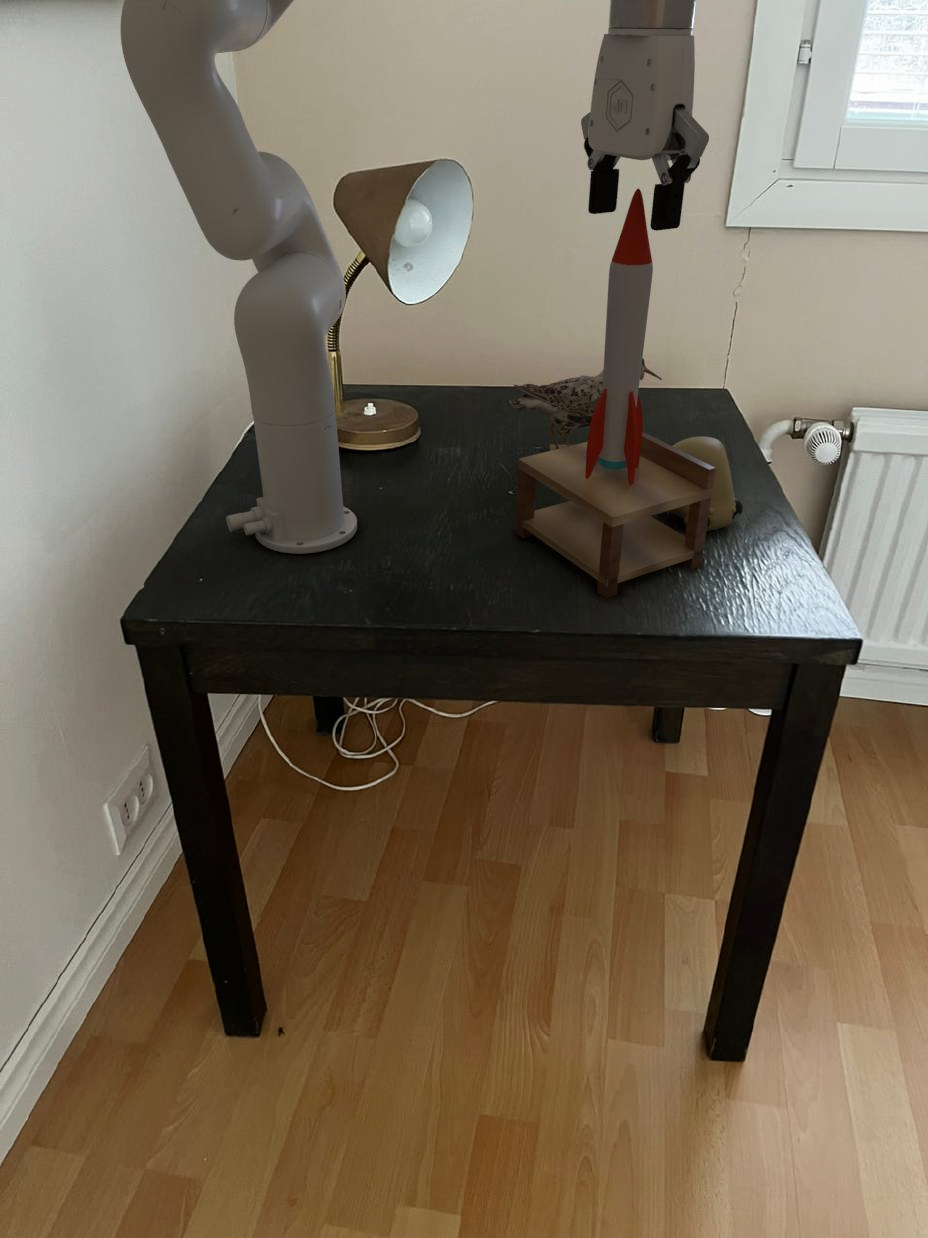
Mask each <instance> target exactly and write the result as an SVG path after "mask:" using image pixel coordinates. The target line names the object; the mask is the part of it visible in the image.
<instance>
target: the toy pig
mask: <svg viewBox="0 0 928 1238" xmlns="http://www.w3.org/2000/svg"><path fill="white" fill-rule="evenodd" d="M671 446H672V447H674V448H677V449H679V450H681V451H683V452H685V453H687V454H689V455H691V456H693V457H695V458H697V459H699V460H701V461H703V462H705V463H707V464H709V465H711V466H713V467H715V468H716V471H715V477H714V484H713V490H712V497H711V503H710V509H709V516H708V523H707V529H706V532H711V531H715V530H719V529H722V528H725V527H727V526H729V525H731V524H732V523H733V522H734V521H735V520H736V519H737V518H739V517H740V516H741V514H742V513H743V510H744V506H743V503H742V501H741V500H740V499H738V498H737V497H735V492H734V484H733V480H732V474H731V469H730V463H729V460H728V459H729V458H728V456H727V455H728V454H727V451H726V448H725V446H724V444H723V442H721V441H720V440H719V439H717V438H715V437H710V436H693V437H688V438H685V439H682V440H680V441H678V442H676V443H675V444H673V445H671ZM689 508H690V504H689V505H685V506H682V507H679V508H675V509H672V510H669V511H670V512H671V513H672V514H674V515H675V516H677V517H680V518H682V519H683V524H684V525H685V527H687V523H688V516H689Z"/></svg>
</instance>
